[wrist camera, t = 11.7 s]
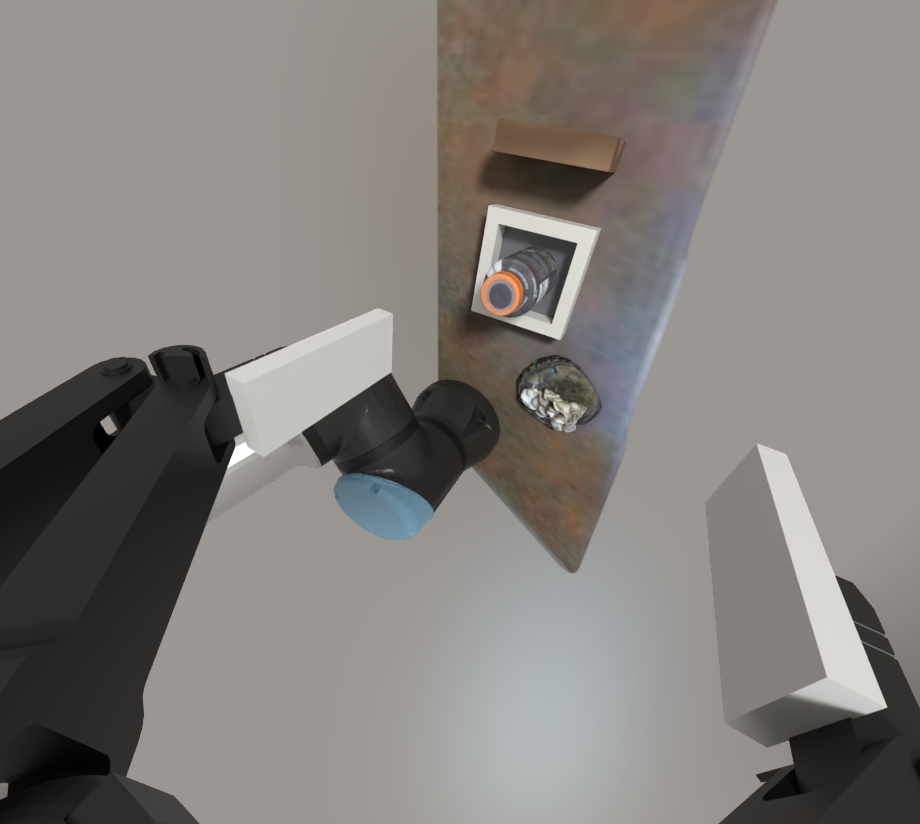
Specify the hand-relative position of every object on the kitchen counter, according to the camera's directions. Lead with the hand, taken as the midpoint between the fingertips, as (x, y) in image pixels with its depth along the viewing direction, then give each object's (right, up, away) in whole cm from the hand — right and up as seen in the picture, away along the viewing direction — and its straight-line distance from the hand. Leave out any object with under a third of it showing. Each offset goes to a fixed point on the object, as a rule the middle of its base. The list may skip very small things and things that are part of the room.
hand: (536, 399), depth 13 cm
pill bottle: (+6, +16, +29) cm, 34 cm away
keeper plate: (+6, +16, +29) cm, 34 cm away
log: (+11, +2, +36) cm, 38 cm away
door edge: (+8, +26, +22) cm, 35 cm away
